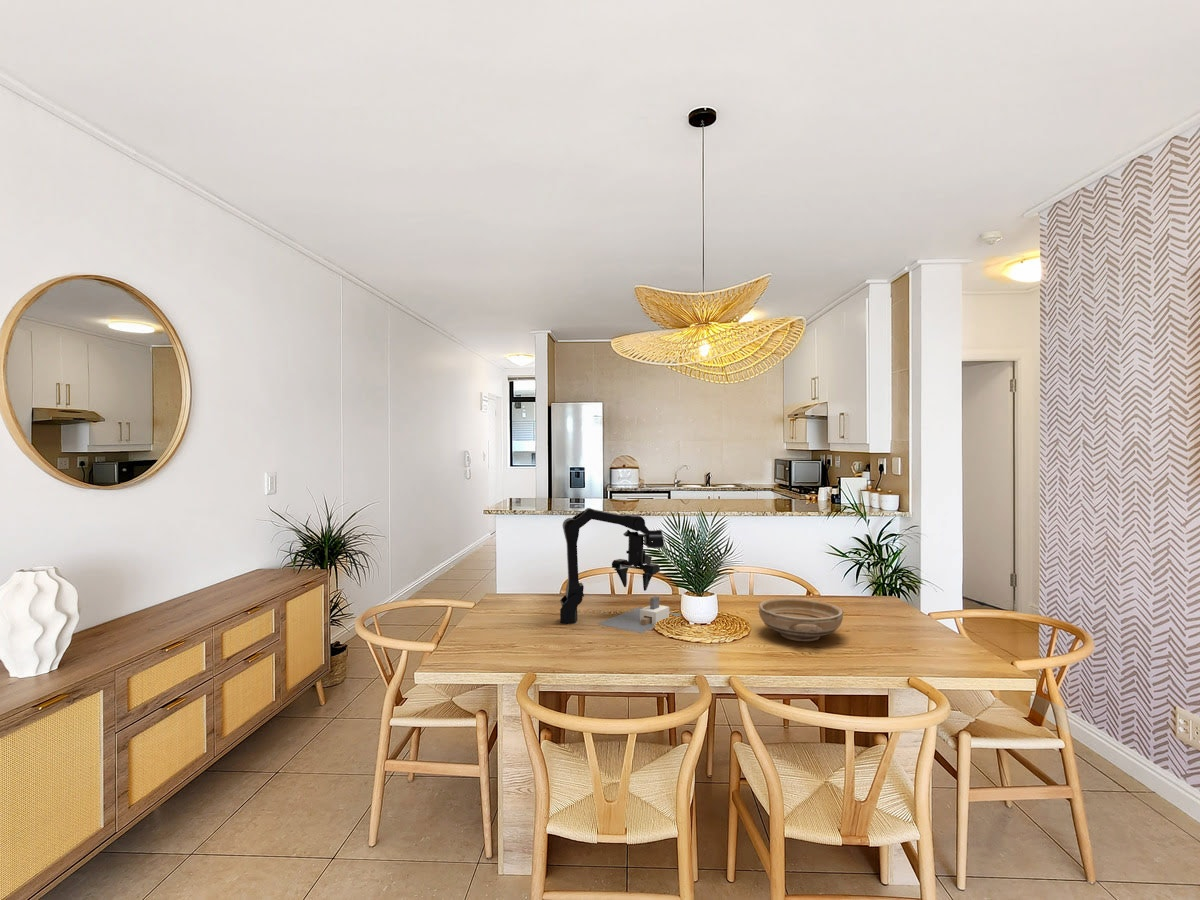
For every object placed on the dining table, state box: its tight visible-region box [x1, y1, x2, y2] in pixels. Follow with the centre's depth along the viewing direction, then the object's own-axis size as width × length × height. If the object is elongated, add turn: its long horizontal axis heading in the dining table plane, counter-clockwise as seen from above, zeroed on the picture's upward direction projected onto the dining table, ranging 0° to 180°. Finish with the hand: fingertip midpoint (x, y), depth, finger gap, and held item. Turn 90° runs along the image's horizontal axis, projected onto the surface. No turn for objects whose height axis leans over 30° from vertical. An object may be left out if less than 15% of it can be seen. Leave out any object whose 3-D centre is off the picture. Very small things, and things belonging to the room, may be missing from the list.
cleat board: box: [596, 606, 682, 634], centre depth 234 cm, size 30×20×3 cm, turn 144°
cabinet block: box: [640, 595, 670, 624], centre depth 233 cm, size 10×7×8 cm
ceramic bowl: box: [758, 597, 844, 642], centre depth 216 cm, size 37×29×10 cm
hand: (635, 588), depth 235 cm, fingers open, 9 cm apart
